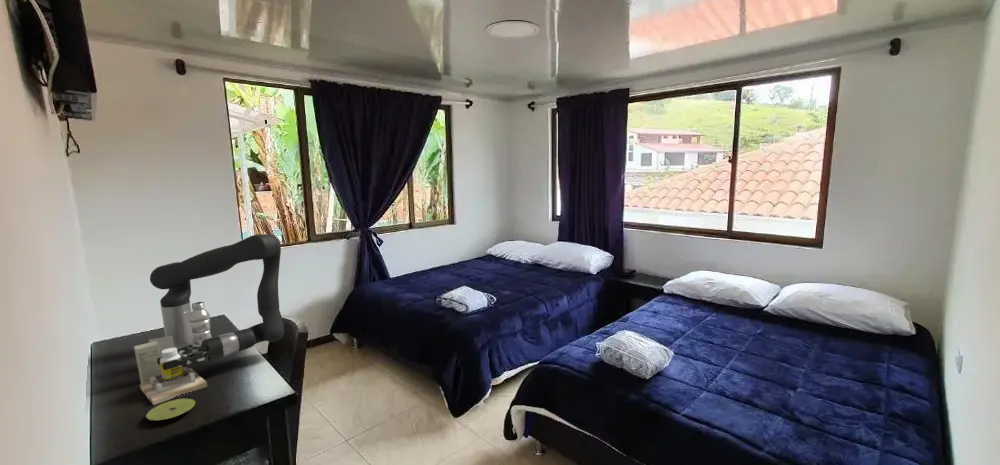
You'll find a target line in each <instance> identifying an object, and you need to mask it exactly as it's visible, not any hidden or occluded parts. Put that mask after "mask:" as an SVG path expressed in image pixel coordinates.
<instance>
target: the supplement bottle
mask: <svg viewBox="0 0 1000 465" xmlns="http://www.w3.org/2000/svg"><path fill="white" fill-rule="evenodd" d="M161 353H162V358H161V359H160V367H161V373H162V380H163V382H169V381H172V380H175V379H178V378H181V377H183V369H182V366H181V367H179V366H177V367H174V368H171V369H168V370H163V367H162V364H163V363H165V362H168V361H172V360H175V359H178V358H181V356H180V355H179V354H177V348H168V349H165V350H163V351H162V352H161Z"/></svg>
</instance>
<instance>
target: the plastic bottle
mask: <svg viewBox="0 0 1000 465" xmlns="http://www.w3.org/2000/svg"><path fill="white" fill-rule="evenodd" d="M189 321H190V325H191V328H192V332H193V343H194V344H193V345H192V347H194V346H196V347H198V346H201V345H202V341H203V340H205V339H208V338H212V337H213V336H212V334H211V314H210V313H209V311H208V310H206V309H205V302H204V301H197V302H193V303H192V304H191V314H190V316H189Z"/></svg>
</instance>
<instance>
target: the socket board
mask: <svg viewBox="0 0 1000 465" xmlns="http://www.w3.org/2000/svg"><path fill="white" fill-rule="evenodd" d="M182 369H183V377H181V378H178V379H175V380H172V381H169V382H163V380H162V374H159V375H155V376H152V377H150V381H149V382H145V383H142V384H141V383H140V384H139V388H140V390H141V391H142V393H143V394H144V395H145V396H146V397H147V399H148V400H149V402H150V403H151V404H152V405H153V406H156V405H159V404H162V403H165V402H166V401H167V402H168V401H171V399H172V398H173V399H175V398H174V397H176V396H178V397H180V396H179V395H181V394H184V395H186V394H185V393H187V394H189V393H188V392H190V393H192V391H193V392H195V390H196V391H198V389H199V390H201V389H204V388H207V387H208V382H207V381H206V380H205V379H204V378H203V377H201V376H200V374H199V373H197V372H196V371H195V370H194V369H193V368H189V367H184V368H183V367H182ZM181 396H182V395H181ZM176 398H177V397H176Z"/></svg>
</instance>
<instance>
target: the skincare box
mask: <svg viewBox="0 0 1000 465" xmlns="http://www.w3.org/2000/svg"><path fill="white" fill-rule="evenodd" d="M133 350H134V355H135V359H136V366H137V371H138V376H139V381H140V384H142V383H145V382H149V381H150V377H152V376H155V375H159V374H162V373H161V367H160V365H159V364H158V362H157V359H158V358H160V357H161V356H160V351H159V345H158V342H157V341H153V342H149V341H148V342H147V343H146V342H145V343H142V344H138V345H134V346H133Z"/></svg>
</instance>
